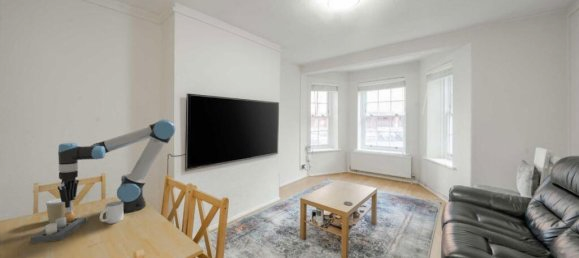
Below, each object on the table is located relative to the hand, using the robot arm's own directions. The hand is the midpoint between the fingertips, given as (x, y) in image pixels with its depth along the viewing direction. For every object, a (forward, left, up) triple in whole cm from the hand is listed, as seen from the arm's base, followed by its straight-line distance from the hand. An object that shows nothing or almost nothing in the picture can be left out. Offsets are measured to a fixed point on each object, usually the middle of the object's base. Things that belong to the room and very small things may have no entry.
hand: (69, 212), depth 126 cm
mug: (-20, -1, -8) cm, 22 cm away
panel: (0, +6, -8) cm, 10 cm away
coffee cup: (+10, -8, -8) cm, 15 cm away
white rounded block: (0, +13, -6) cm, 14 cm away
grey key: (0, +6, -6) cm, 9 cm away
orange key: (0, 0, -5) cm, 5 cm away
